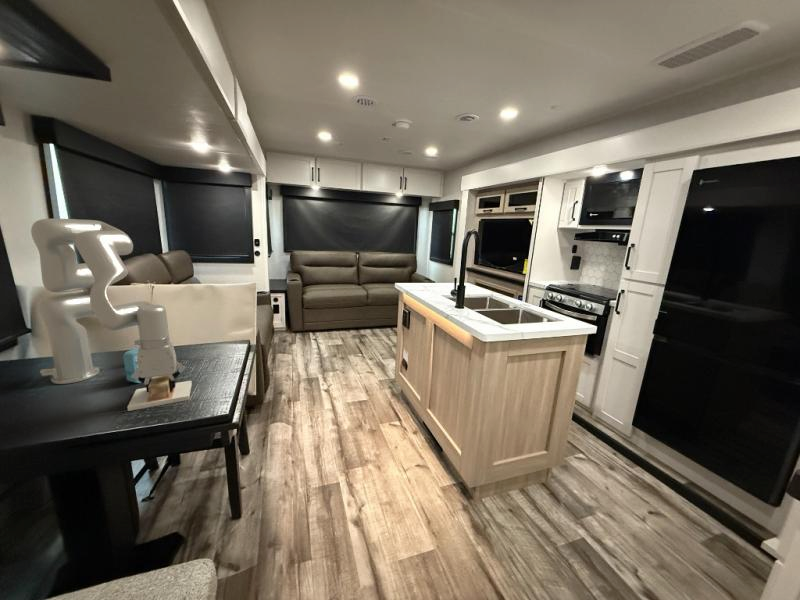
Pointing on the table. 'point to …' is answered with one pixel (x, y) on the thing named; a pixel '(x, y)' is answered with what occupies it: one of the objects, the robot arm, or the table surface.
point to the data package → (131, 364)
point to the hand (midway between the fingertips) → (161, 391)
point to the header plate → (177, 395)
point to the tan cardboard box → (159, 387)
